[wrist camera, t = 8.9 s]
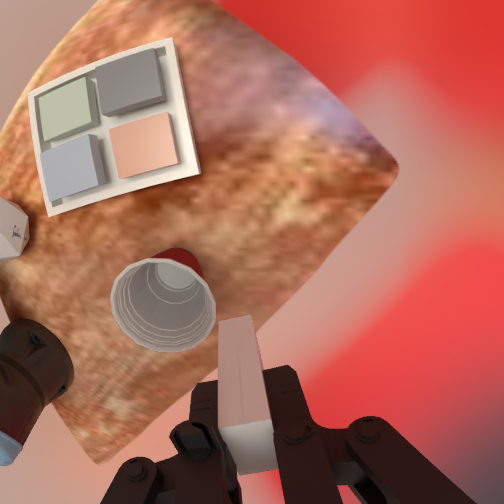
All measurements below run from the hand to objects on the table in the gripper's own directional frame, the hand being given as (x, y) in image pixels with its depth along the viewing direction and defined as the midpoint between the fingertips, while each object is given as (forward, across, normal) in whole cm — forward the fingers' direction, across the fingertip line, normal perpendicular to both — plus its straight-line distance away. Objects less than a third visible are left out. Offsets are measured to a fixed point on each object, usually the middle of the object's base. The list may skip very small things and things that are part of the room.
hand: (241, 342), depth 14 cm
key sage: (+25, +16, -20) cm, 36 cm away
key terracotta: (+25, +8, -12) cm, 28 cm away
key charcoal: (+23, +8, -20) cm, 31 cm away
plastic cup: (+27, +8, +4) cm, 28 cm away
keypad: (+26, +12, -16) cm, 33 cm away
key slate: (+23, +16, -12) cm, 31 cm away
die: (+27, +31, -8) cm, 42 cm away
